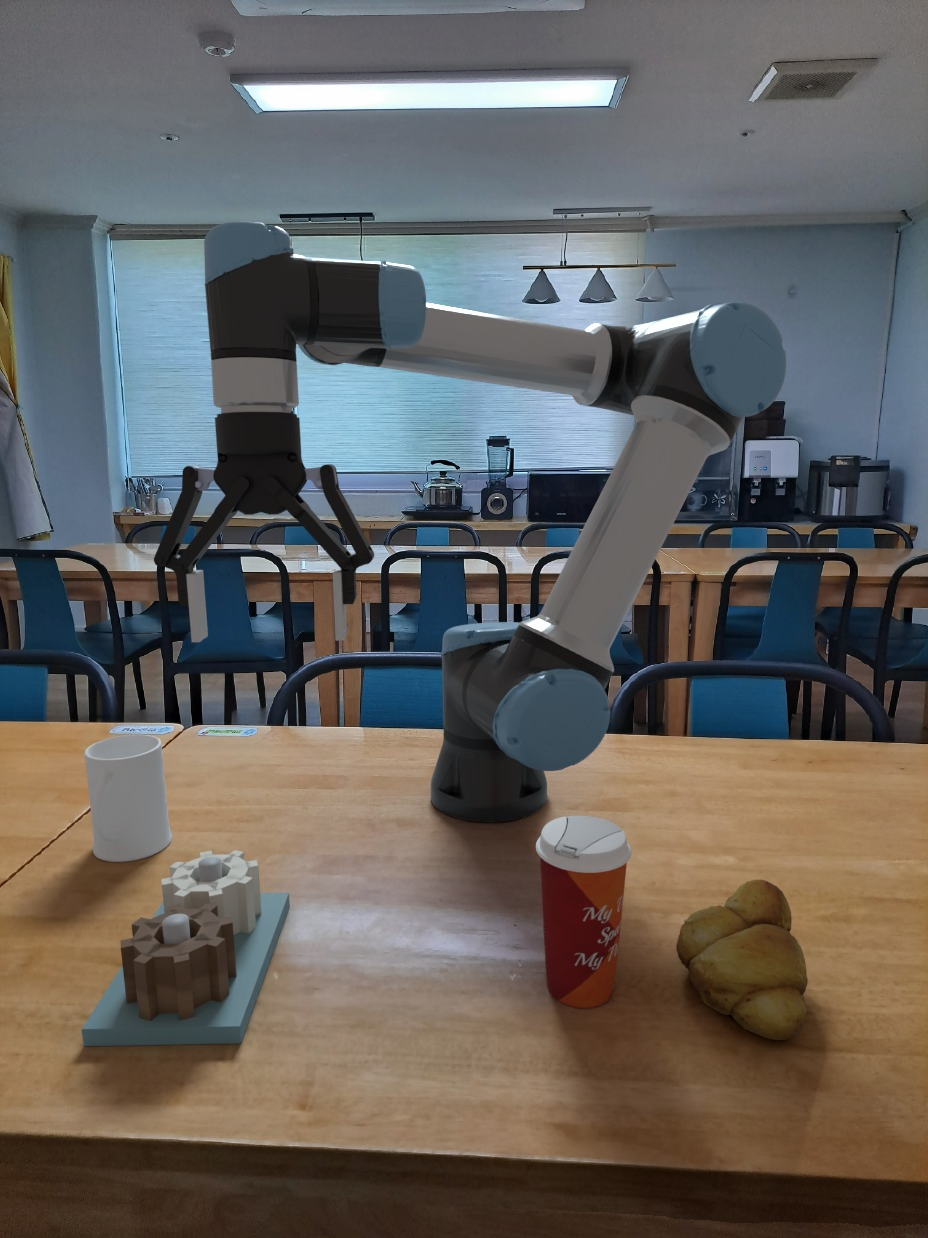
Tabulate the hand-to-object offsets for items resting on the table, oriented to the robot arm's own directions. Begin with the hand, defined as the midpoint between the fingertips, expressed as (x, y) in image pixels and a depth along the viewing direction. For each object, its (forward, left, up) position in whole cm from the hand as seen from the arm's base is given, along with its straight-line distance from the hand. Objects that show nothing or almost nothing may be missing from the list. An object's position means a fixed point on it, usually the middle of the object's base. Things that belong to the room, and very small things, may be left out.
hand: (270, 638), depth 78 cm
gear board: (+5, +13, -27) cm, 30 cm away
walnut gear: (+5, +17, -25) cm, 31 cm away
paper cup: (-28, +16, -27) cm, 42 cm away
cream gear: (+5, +8, -25) cm, 27 cm away
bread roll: (-41, +18, -27) cm, 52 cm away
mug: (+20, -9, -27) cm, 35 cm away
